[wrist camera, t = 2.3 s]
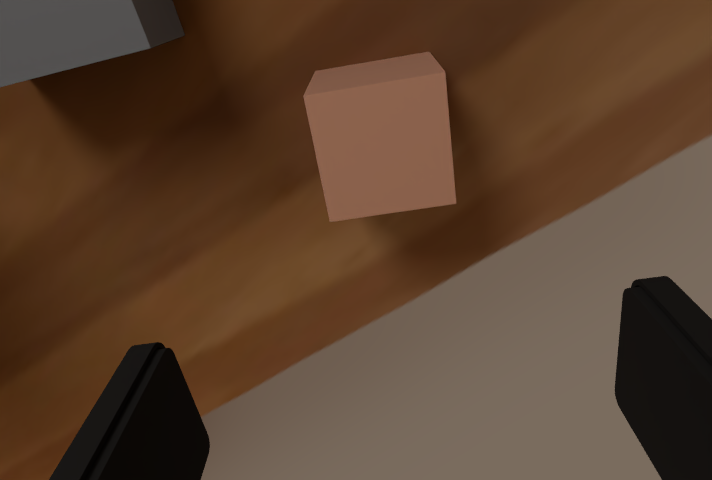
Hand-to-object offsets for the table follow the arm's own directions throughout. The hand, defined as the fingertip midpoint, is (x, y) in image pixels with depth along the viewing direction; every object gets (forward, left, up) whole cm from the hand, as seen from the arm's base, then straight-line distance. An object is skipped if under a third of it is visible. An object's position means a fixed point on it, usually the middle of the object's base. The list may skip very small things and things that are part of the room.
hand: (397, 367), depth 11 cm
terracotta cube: (0, 0, -20) cm, 20 cm away
